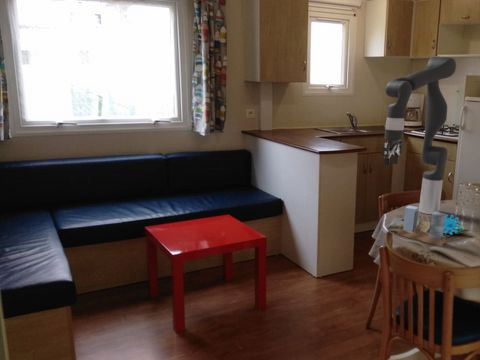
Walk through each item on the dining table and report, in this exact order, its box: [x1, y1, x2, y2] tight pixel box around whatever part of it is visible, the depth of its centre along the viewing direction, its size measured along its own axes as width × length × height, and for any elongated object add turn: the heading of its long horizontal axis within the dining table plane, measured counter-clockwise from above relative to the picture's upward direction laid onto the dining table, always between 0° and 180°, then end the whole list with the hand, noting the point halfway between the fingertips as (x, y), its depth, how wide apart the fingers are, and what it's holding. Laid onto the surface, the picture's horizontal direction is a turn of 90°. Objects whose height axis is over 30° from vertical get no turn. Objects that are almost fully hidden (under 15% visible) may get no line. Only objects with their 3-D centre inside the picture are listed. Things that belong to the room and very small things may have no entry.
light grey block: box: [402, 205, 419, 232], centre depth 186 cm, size 4×4×10 cm
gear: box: [443, 213, 465, 236], centre depth 193 cm, size 11×6×10 cm
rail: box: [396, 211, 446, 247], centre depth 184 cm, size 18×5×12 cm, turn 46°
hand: (390, 165), depth 193 cm, fingers open, 8 cm apart
